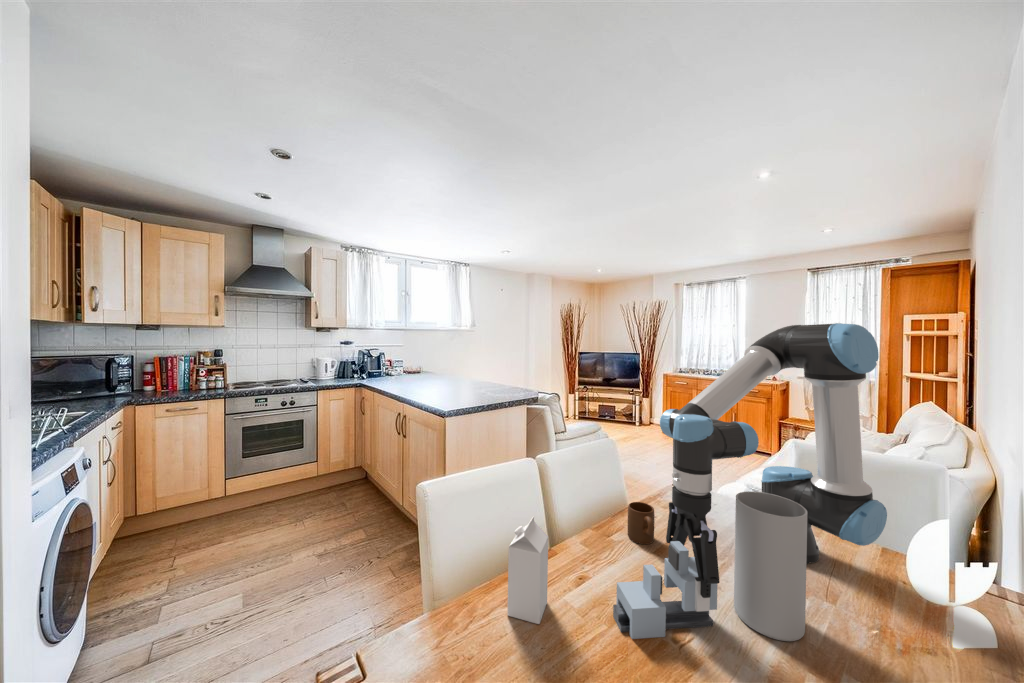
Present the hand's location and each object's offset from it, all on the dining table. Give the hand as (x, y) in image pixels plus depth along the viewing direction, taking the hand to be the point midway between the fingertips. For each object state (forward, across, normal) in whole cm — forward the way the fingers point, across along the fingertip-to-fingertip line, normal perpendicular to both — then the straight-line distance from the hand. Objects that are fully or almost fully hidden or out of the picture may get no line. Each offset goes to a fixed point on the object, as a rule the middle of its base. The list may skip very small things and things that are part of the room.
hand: (689, 594), depth 78 cm
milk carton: (+6, -6, -34) cm, 35 cm away
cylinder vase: (+5, +1, +17) cm, 18 cm away
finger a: (+5, -1, -11) cm, 12 cm away
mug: (+6, -30, +4) cm, 30 cm away
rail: (+5, -1, -6) cm, 8 cm away
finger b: (0, -1, 0) cm, 1 cm away
